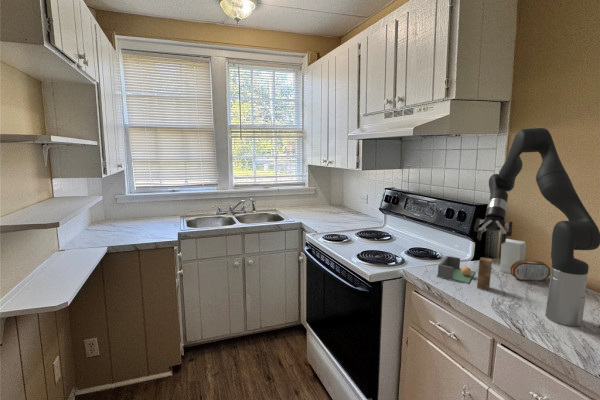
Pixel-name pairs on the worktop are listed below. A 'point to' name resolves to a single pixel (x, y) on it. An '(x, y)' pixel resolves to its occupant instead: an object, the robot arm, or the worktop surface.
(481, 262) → the brown wooden block
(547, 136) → the robot arm
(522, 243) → the skincare box
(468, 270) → the ball
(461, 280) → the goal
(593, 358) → the worktop surface
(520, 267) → the tin
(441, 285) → the worktop surface
